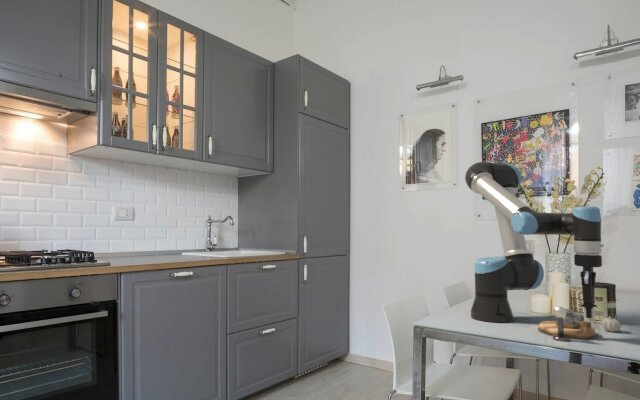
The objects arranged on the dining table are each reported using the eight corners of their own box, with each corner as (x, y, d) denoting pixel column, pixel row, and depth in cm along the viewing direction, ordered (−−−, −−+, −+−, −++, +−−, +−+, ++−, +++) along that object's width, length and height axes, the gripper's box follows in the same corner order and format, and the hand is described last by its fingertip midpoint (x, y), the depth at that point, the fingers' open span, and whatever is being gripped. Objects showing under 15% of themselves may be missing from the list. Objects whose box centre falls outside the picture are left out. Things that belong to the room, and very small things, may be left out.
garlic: (612, 333, 137) (611, 318, 138) (597, 330, 142) (596, 314, 143) (625, 332, 139) (625, 317, 139) (610, 329, 144) (610, 313, 144)
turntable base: (532, 333, 137) (532, 332, 137) (543, 324, 150) (543, 323, 150) (594, 342, 126) (594, 341, 126) (599, 332, 139) (599, 331, 139)
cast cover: (551, 324, 140) (550, 308, 141) (566, 323, 142) (566, 307, 143) (569, 329, 134) (569, 312, 134) (585, 328, 136) (585, 311, 136)
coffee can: (609, 318, 161) (607, 282, 162) (622, 324, 151) (621, 285, 152) (579, 317, 163) (578, 281, 164) (591, 323, 153) (590, 284, 154)
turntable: (528, 327, 143) (528, 313, 143) (563, 324, 148) (563, 311, 148) (569, 339, 128) (569, 324, 128) (607, 335, 133) (606, 321, 133)
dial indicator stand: (551, 339, 129) (550, 306, 130) (555, 335, 135) (555, 303, 135) (567, 342, 126) (567, 308, 127) (571, 337, 132) (570, 305, 132)
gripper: (599, 256, 126) (601, 333, 125) (603, 253, 136) (605, 325, 135) (571, 254, 131) (573, 329, 130) (576, 252, 141) (578, 321, 140)
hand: (589, 327), depth 132 cm, fingers closed
